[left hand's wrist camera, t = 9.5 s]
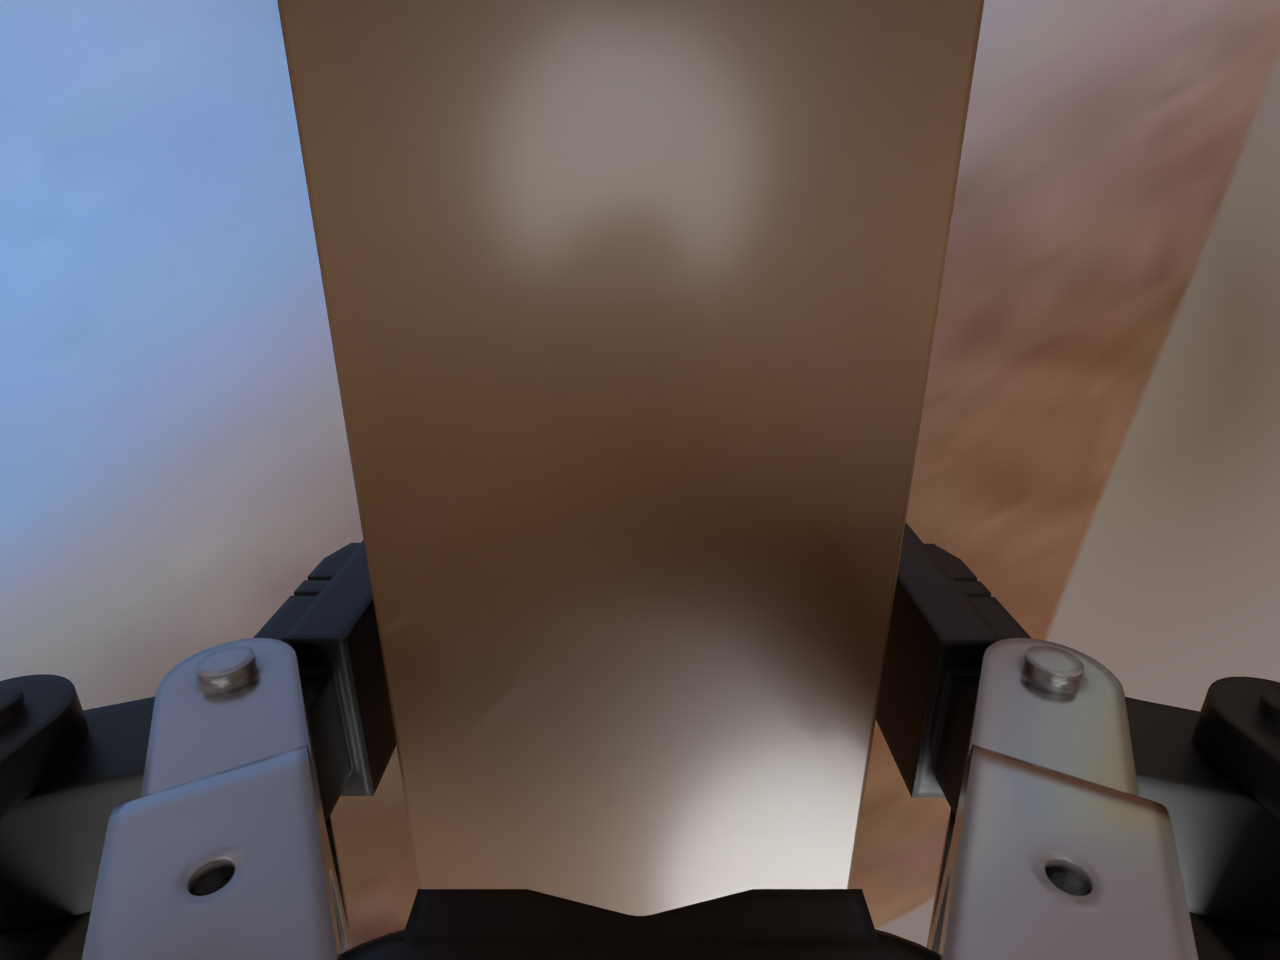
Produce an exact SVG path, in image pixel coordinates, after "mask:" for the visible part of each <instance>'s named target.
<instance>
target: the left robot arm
mask: <svg viewBox="0 0 1280 960" xmlns="http://www.w3.org/2000/svg"><path fill="white" fill-rule="evenodd" d="M876 720H877V722H878V725H879V727H880V729H881V731H882V733H883V736H884V738H885V740H886V742H887V744H888V747H889V749H890V751H891V753H892V755H893V757H894V760H895V762H896V764H897V766H898V768H899V771H900V773H901V775H902V777H903V779H904V781H905V784H906V786H907V788H908V790H909V792H910V795H911V797H912V798H946V799H947V801H948V803H949V805H950V807H951V811H950V816H949V821H948V825H947V830H946V835H945V841H944V847H943V853H942V859H941V865H940V871H939V877H938V883H937V889H936V895H935V901H934V907H933V912H932V919H931V924H930V930H929V936H928V942H927V948H926V947H924V946H922V945H920V944H918V943H915V942H912V941H910V940H907V939H904V938H901V937H899V936H896V935H893V934H890V933H887V932H883V931H880V930H876V929H874V925H873V922H872V919H871V916H870V913H869V910H868V907H867V904H866V901H865V898H864V895H863V891H862V889H751V890H747V891H743V892H739V893H736V894H732V895H728V896H724V897H720V898H716V899H712V900H708V901H704V902H700V903H696V904H692V905H688V906H684V907H680V908H676V909H672V910H668V911H664V912H660V913H657V914H653V915H647V916H633V915H627V914H623V913H620V912H616V911H612V910H608V909H604V908H600V907H596V906H592V905H588V904H584V903H580V902H576V901H572V900H568V899H564V898H560V897H556V896H552V895H548V894H544V893H541V892H537V891H533V890H529V889H418V891H417V895H416V898H415V901H414V904H413V907H412V910H411V913H410V916H409V919H408V922H407V925H406V929H404V930H400V931H397V932H393V933H390V934H387V935H384V936H381V937H379V938H376V939H373V940H370V941H368V942H365V943H362V944H360V945H358V946H356V947H354V948H353V942H352V936H351V930H350V924H349V918H348V912H347V906H346V901H345V895H344V889H343V883H342V877H341V871H340V865H339V859H338V853H337V847H336V841H335V835H334V830H333V825H332V821H331V816H330V814H331V813H332V811H333V809H334V807H335V805H336V803H337V801H338V799H339V797H340V796H374V793H375V791H376V789H377V787H378V784H379V782H380V780H381V778H382V776H383V773H384V771H385V769H386V767H387V764H388V762H389V760H390V758H391V756H392V753H393V751H394V749H395V747H396V738H395V732H394V726H393V719H392V713H391V707H390V701H389V694H388V688H387V682H386V676H385V669H384V663H383V657H382V651H381V644H380V638H379V632H378V626H377V619H376V613H375V607H374V601H373V594H372V588H371V582H370V576H369V569H368V563H367V557H366V551H365V544H364V540H363V541H362V542H361V543H350V544H348V545H347V546H345V547H343V548H341V549H340V550H338V551H336V552H334V553H333V554H331V555H329V556H328V557H326V558H324V559H323V560H322V561H321V562H320V564H319V565H318V566H317V567H316V568H315V569H314V570H313V571H312V573H311V574H310V575H309V576H308V580H304V582H303V583H302V584H301V585H300V586H299V587H298V588H297V589H296V591H295V592H294V596H290V597H289V598H288V600H287V601H286V602H285V603H284V604H283V605H282V606H281V607H280V609H279V610H278V611H277V612H276V613H275V614H274V615H273V616H272V618H271V619H270V620H269V621H268V622H267V623H266V624H265V625H264V626H263V628H262V629H261V630H260V631H259V632H258V633H257V634H256V635H255V637H254V638H249V639H241V640H236V641H231V642H227V643H223V644H220V645H217V646H214V647H211V648H208V649H206V650H203V651H201V652H199V653H197V654H195V655H193V656H191V657H189V658H187V659H186V660H184V661H182V662H181V663H180V664H178V665H177V666H175V667H174V668H173V669H172V670H170V671H169V672H168V673H167V674H166V675H165V677H164V678H163V679H162V680H161V682H160V683H159V685H158V687H157V691H156V695H155V697H151V698H146V699H141V700H136V701H131V702H126V703H120V704H115V705H110V706H105V707H100V708H94V709H89V710H84V711H83V709H82V707H81V704H80V701H79V698H78V695H77V693H76V690H75V687H74V685H73V684H72V682H71V681H69V680H68V679H66V678H64V677H61V676H56V675H29V676H22V677H17V678H12V679H7V680H3V681H0V960H1280V683H1279V682H1275V681H1271V680H1266V679H1260V678H1252V677H1228V678H1223V679H1220V680H1217V681H1215V682H1214V683H1212V684H1211V686H1210V687H1209V689H1208V692H1207V695H1206V698H1205V700H1204V703H1203V706H1202V709H1201V712H1199V711H1193V710H1188V709H1183V708H1178V707H1173V706H1168V705H1162V704H1157V703H1152V702H1147V701H1142V700H1137V699H1132V698H1128V697H1125V696H1124V691H1123V687H1122V685H1121V683H1120V682H1119V680H1118V679H1117V678H1116V677H1115V675H1114V674H1113V673H1112V672H1111V671H1110V670H1108V669H1107V668H1106V667H1105V666H1103V665H1102V664H1100V663H1099V662H1098V661H1096V660H1094V659H1093V658H1091V657H1089V656H1087V655H1085V654H1083V653H1081V652H1079V651H1077V650H1074V649H1072V648H1069V647H1066V646H1063V645H1060V644H1057V643H1053V642H1049V641H1044V640H1039V639H1032V638H1031V637H1030V636H1029V635H1028V634H1027V633H1026V632H1025V631H1024V629H1023V628H1022V627H1021V626H1020V625H1019V624H1018V623H1017V622H1016V621H1015V619H1014V618H1013V617H1012V616H1011V615H1010V614H1009V613H1008V612H1007V611H1006V609H1005V608H1004V607H1003V606H1002V605H1001V604H1000V603H999V602H998V601H997V599H996V598H995V597H991V593H990V592H989V591H988V589H987V588H986V587H985V586H984V585H983V584H982V583H981V582H980V581H977V577H976V576H975V575H974V574H973V573H972V572H971V571H970V569H969V568H968V567H967V566H966V565H965V564H964V563H963V562H962V561H961V559H959V558H957V557H955V556H954V555H952V554H950V553H948V552H947V551H945V550H943V549H941V548H940V547H938V546H936V545H934V544H923V542H922V541H921V540H920V539H919V538H918V536H917V535H916V534H915V533H914V532H913V530H912V529H911V528H910V527H909V526H908V524H907V523H906V522H905V527H904V534H903V541H902V547H901V554H900V561H899V567H898V574H897V580H896V587H895V594H894V600H893V607H892V613H891V620H890V627H889V633H888V640H887V647H886V653H885V660H884V666H883V673H882V680H881V686H880V693H879V699H878V706H877V713H876Z"/></svg>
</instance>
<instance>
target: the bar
mask: <svg viewBox="0 0 1280 960" xmlns="http://www.w3.org/2000/svg"><path fill="white" fill-rule="evenodd" d="M277 1H278V7H279V13H280V19H281V26H282V32H283V38H284V44H285V51H286V57H287V63H288V69H289V76H290V82H291V88H292V94H293V101H294V107H295V113H296V119H297V126H298V132H299V138H300V144H301V151H302V157H303V163H304V169H305V176H306V182H307V188H308V194H309V201H310V207H311V213H312V219H313V226H314V232H315V238H316V244H317V251H318V257H319V263H320V269H321V276H322V282H323V288H324V294H325V301H326V307H327V313H328V319H329V326H330V332H331V338H332V344H333V351H334V357H335V363H336V369H337V376H338V382H339V388H340V394H341V401H342V407H343V413H344V419H345V426H346V432H347V438H348V444H349V451H350V457H351V463H352V469H353V476H354V482H355V488H356V494H357V501H358V507H359V513H360V519H361V526H362V532H363V538H364V544H365V551H366V557H367V563H368V569H369V576H370V582H371V588H372V594H373V601H374V607H375V613H376V619H377V626H378V632H379V638H380V644H381V651H382V657H383V663H384V669H385V676H386V682H387V688H388V694H389V701H390V707H391V713H392V719H393V726H394V732H395V738H396V744H397V751H398V757H399V763H400V769H401V776H402V782H403V788H404V794H405V801H406V807H407V813H408V819H409V826H410V832H411V838H412V844H413V851H414V857H415V863H416V869H417V876H418V882H419V888H420V889H529V890H533V891H537V892H541V893H544V894H548V895H552V896H556V897H560V898H564V899H568V900H572V901H576V902H580V903H584V904H588V905H592V906H596V907H600V908H604V909H608V910H612V911H616V912H620V913H623V914H627V915H633V916H647V915H653V914H657V913H660V912H664V911H668V910H672V909H676V908H680V907H684V906H688V905H692V904H696V903H700V902H704V901H708V900H712V899H716V898H720V897H724V896H728V895H732V894H736V893H739V892H743V891H747V890H751V889H850V885H851V878H852V871H853V865H854V858H855V852H856V845H857V838H858V832H859V825H860V818H861V812H862V805H863V799H864V792H865V785H866V779H867V772H868V766H869V759H870V752H871V746H872V739H873V733H874V726H875V719H876V713H877V706H878V699H879V693H880V686H881V680H882V673H883V666H884V660H885V653H886V647H887V640H888V633H889V627H890V620H891V613H892V607H893V600H894V594H895V587H896V580H897V574H898V567H899V561H900V554H901V547H902V541H903V534H904V527H905V521H906V514H907V508H908V501H909V494H910V488H911V481H912V475H913V468H914V461H915V455H916V448H917V442H918V435H919V428H920V422H921V415H922V408H923V402H924V395H925V389H926V382H927V375H928V369H929V362H930V356H931V349H932V342H933V336H934V329H935V322H936V316H937V309H938V303H939V296H940V289H941V283H942V276H943V270H944V263H945V256H946V250H947V243H948V237H949V230H950V223H951V217H952V210H953V203H954V197H955V190H956V184H957V177H958V170H959V164H960V157H961V151H962V144H963V137H964V131H965V124H966V117H967V111H968V104H969V98H970V91H971V84H972V78H973V71H974V65H975V58H976V51H977V45H978V38H979V32H980V25H981V18H982V12H983V5H984V0H277Z"/></svg>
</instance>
